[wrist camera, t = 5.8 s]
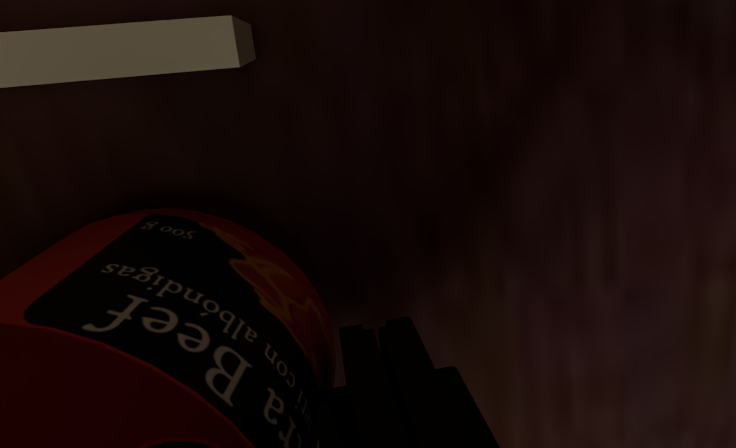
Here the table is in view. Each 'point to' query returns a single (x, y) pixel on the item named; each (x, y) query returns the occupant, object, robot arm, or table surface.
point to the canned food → (162, 339)
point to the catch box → (123, 50)
